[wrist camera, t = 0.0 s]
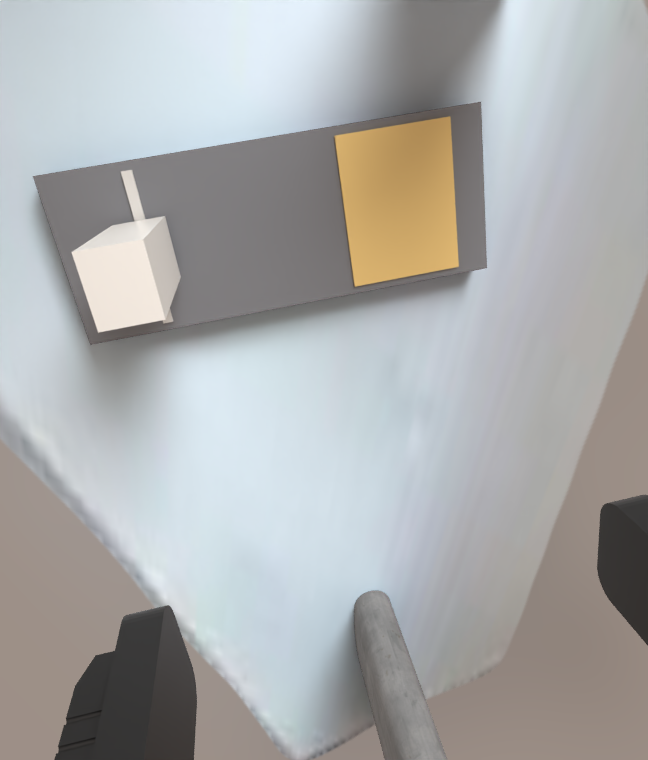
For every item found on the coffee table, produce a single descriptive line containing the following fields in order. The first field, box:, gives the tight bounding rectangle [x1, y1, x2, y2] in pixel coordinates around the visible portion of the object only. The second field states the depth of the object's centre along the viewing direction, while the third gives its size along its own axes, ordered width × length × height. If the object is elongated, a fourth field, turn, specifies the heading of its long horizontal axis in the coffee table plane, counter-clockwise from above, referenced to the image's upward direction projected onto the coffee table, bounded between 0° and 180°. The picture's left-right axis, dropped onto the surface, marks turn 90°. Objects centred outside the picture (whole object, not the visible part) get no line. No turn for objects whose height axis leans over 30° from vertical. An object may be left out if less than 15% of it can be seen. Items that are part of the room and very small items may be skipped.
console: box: [33, 102, 487, 345], centre depth 35 cm, size 10×26×2 cm, turn 99°
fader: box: [72, 216, 181, 333], centre depth 29 cm, size 4×3×9 cm
